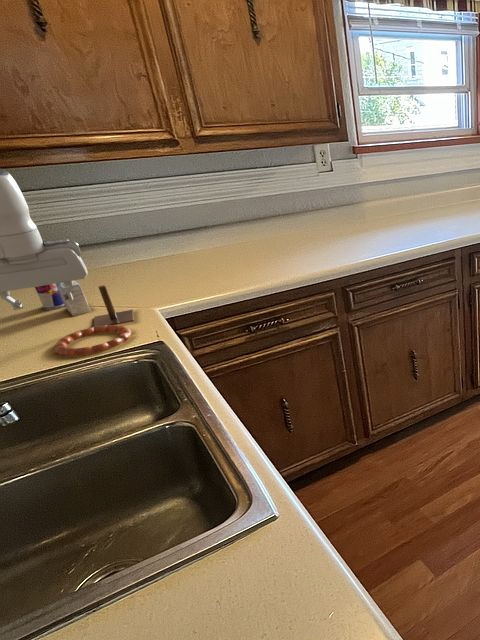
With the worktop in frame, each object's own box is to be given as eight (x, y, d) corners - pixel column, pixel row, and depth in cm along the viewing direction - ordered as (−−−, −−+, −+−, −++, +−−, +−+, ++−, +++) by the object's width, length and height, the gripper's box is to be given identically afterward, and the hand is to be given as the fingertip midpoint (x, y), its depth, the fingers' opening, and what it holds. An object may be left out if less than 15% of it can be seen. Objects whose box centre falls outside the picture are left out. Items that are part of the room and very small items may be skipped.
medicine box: (92, 313, 147) (80, 284, 143) (73, 317, 144) (61, 288, 140) (84, 306, 152) (73, 278, 148) (66, 311, 149) (54, 282, 145)
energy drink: (49, 312, 148) (32, 272, 142) (41, 309, 150) (24, 269, 145) (70, 306, 152) (54, 267, 146) (62, 303, 154) (46, 264, 149)
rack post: (95, 332, 134) (80, 294, 130) (96, 321, 141) (82, 284, 136) (135, 324, 139) (122, 287, 134) (134, 314, 145) (121, 278, 141)
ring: (53, 366, 118) (49, 357, 117) (60, 341, 130) (56, 332, 129) (134, 349, 125) (130, 340, 124) (132, 327, 137) (129, 318, 136)
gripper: (76, 234, 120) (98, 291, 126) (-39, 249, 110) (-9, 310, 117) (74, 240, 115) (97, 298, 121) (-47, 256, 105) (-15, 318, 112)
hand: (44, 304), depth 119 cm, fingers open, 8 cm apart
